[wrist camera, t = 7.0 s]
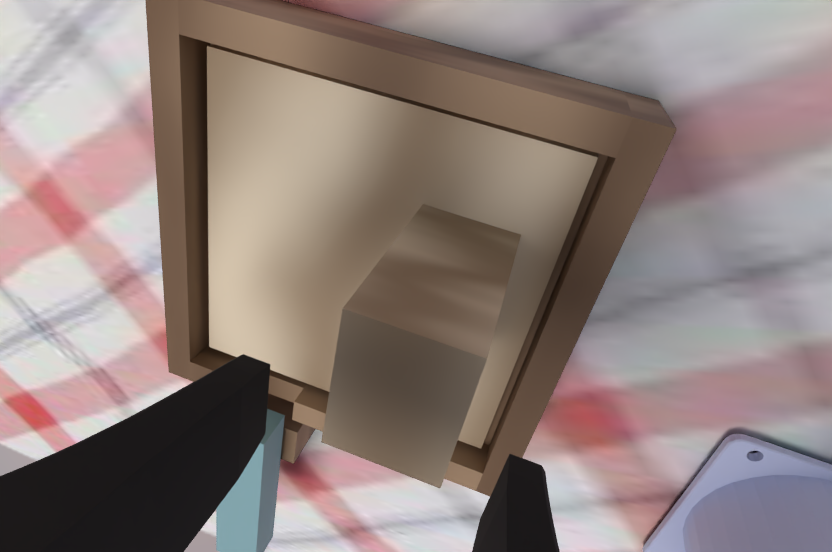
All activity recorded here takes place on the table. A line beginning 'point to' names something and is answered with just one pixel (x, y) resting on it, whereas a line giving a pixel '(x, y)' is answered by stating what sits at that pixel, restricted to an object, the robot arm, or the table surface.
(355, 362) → the lid
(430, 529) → the table surface
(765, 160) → the table surface
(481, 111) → the tray
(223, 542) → the rectangular block
